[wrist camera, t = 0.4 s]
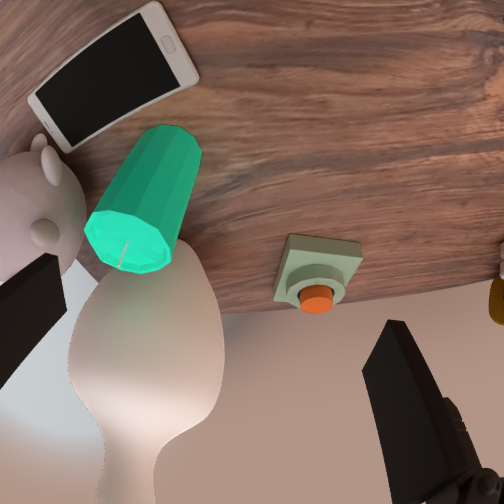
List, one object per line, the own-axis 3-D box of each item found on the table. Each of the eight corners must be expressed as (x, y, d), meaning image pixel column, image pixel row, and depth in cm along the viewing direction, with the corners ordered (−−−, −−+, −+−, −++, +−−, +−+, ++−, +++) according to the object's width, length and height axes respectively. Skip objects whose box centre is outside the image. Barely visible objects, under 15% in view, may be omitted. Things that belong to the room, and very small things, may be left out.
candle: (197, 121, 21) (149, 230, 14) (206, 181, 26) (177, 297, 18) (129, 128, 22) (57, 231, 14) (145, 183, 26) (98, 290, 19)
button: (304, 281, 31) (305, 295, 30) (336, 284, 31) (337, 298, 30) (296, 299, 34) (296, 312, 32) (326, 301, 34) (327, 314, 33)
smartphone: (201, 82, 18) (65, 156, 23) (203, 79, 18) (68, 152, 23) (156, -3, 13) (24, 98, 17) (159, -3, 13) (28, 96, 18)
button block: (289, 233, 31) (290, 264, 28) (359, 242, 31) (366, 272, 28) (273, 286, 38) (272, 313, 36) (331, 291, 39) (334, 318, 36)
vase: (243, 210, 28) (213, 548, 10) (229, 290, 39) (209, 509, 21) (104, 193, 27) (8, 482, 9) (126, 275, 38) (79, 479, 20)
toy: (-18, 281, 12) (-47, 290, 17) (114, 304, 22) (39, 306, 28) (35, 91, 15) (-20, 161, 21) (129, 152, 26) (52, 193, 31)
